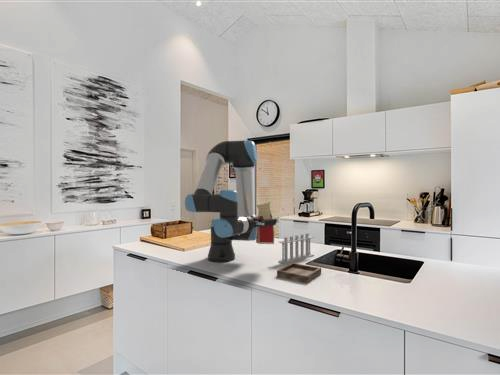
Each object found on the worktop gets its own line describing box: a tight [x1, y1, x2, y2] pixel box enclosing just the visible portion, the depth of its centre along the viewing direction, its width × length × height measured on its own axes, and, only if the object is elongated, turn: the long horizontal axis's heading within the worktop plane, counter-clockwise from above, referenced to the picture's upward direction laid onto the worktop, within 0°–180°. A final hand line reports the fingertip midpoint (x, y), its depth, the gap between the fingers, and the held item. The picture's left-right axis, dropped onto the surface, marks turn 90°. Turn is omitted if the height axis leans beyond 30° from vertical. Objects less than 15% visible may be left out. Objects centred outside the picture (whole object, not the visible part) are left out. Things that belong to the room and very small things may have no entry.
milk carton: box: [255, 201, 276, 245], centre depth 145 cm, size 9×9×20 cm
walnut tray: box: [276, 262, 322, 284], centre depth 135 cm, size 15×15×3 cm
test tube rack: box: [277, 232, 315, 264], centre depth 163 cm, size 25×4×13 cm, turn 130°
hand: (269, 218), depth 149 cm, fingers closed on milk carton, 9 cm apart
